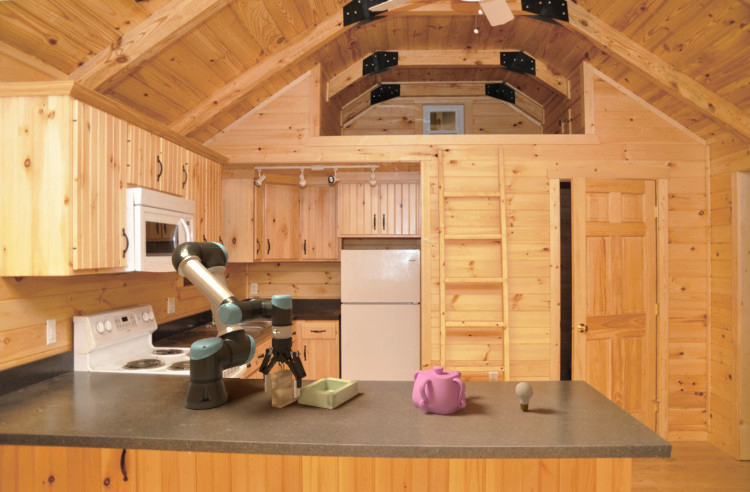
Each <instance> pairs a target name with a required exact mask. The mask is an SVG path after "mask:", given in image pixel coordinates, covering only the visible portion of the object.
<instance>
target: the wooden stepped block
mask: <svg viewBox="0 0 750 492" xmlns="http://www.w3.org/2000/svg"><path fill="white" fill-rule="evenodd" d="M296 401H298V397H296V398H294V394H293V373H292V371H291V370H290V369H289V368H286V369H285V368H283V369H280V370H278V371H275V372H272V373H271V407H272V408H277V409H282V408H284V407H285V406H288V405H290V404H292V403H293V402H296Z"/></svg>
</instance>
